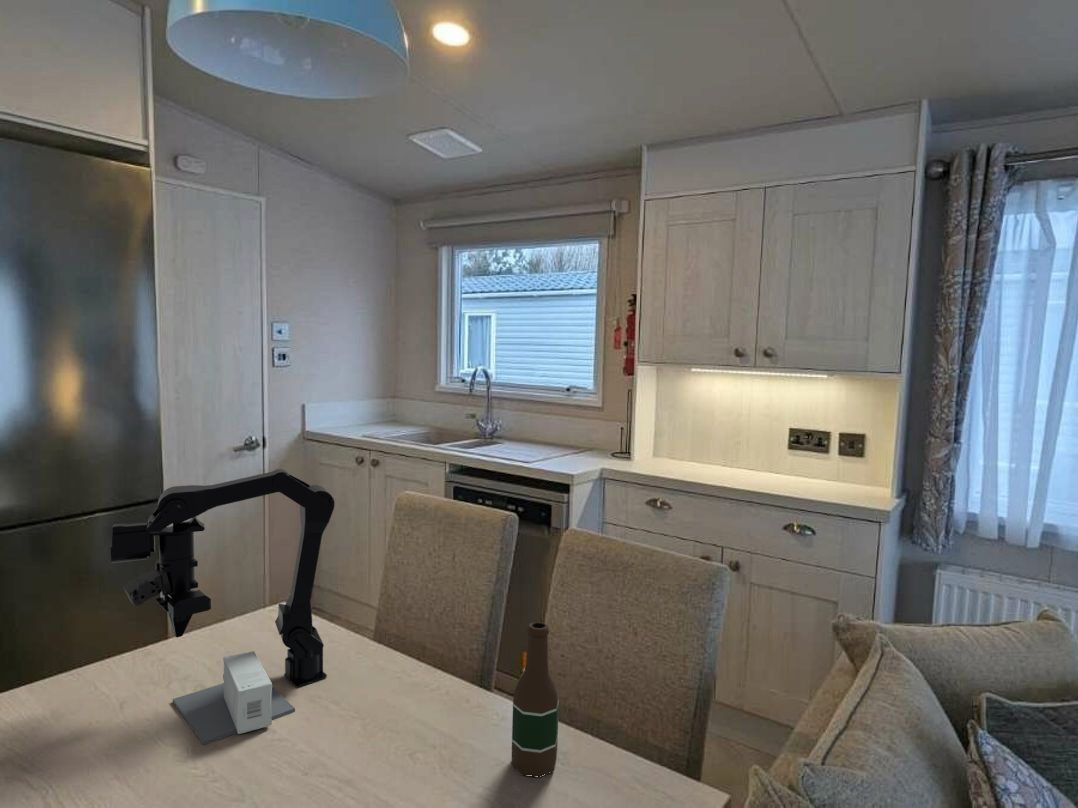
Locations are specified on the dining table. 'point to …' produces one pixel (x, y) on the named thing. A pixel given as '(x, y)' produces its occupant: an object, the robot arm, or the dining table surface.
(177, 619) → the robot arm
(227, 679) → the skincare box
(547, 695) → the beer bottle
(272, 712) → the mat
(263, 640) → the dining table surface
